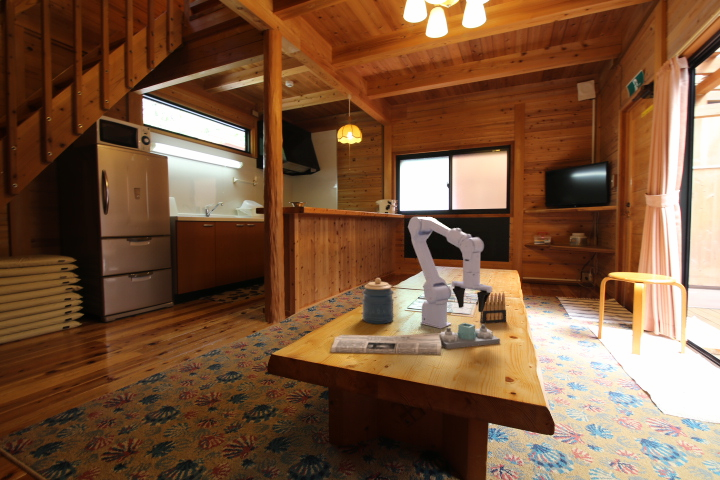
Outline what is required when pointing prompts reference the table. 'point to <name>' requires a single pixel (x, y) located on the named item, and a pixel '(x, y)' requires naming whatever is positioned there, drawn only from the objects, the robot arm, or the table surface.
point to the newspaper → (388, 344)
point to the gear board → (453, 341)
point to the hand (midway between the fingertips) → (470, 309)
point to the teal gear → (466, 331)
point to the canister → (378, 302)
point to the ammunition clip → (494, 310)
